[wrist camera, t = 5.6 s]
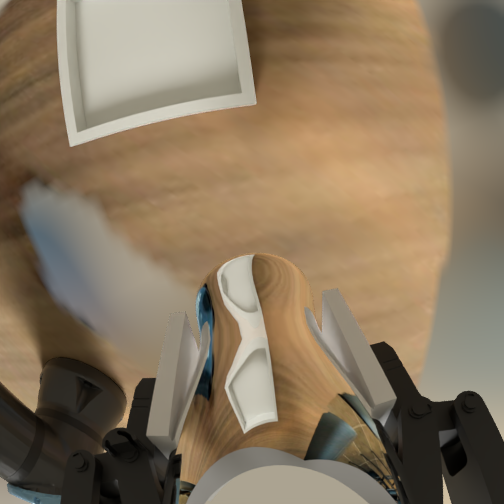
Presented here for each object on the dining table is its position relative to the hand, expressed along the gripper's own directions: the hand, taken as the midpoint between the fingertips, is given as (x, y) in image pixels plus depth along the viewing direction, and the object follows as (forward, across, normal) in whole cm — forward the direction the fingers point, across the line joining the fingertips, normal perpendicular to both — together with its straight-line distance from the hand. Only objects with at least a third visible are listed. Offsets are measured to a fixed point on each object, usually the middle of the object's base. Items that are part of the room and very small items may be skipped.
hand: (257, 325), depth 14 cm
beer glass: (+2, 0, 0) cm, 2 cm away
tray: (+15, -6, +18) cm, 24 cm away
